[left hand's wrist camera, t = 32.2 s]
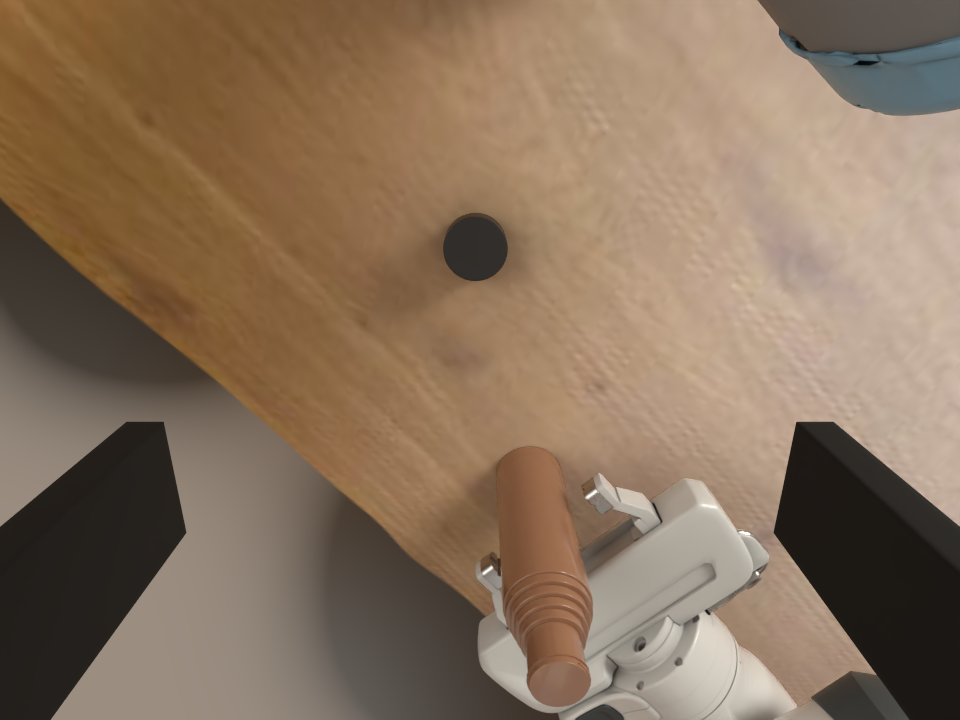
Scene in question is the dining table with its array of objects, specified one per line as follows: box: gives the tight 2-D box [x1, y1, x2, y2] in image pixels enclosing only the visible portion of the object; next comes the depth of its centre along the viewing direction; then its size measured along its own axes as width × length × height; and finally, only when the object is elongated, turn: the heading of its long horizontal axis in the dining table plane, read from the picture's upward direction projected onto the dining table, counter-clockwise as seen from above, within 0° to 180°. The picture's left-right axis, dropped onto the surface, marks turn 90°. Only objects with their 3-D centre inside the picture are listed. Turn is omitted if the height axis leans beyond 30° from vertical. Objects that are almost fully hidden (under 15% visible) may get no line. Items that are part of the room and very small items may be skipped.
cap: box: [443, 213, 507, 281], centre depth 40 cm, size 4×4×2 cm
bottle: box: [496, 447, 593, 707], centre depth 38 cm, size 5×5×19 cm
